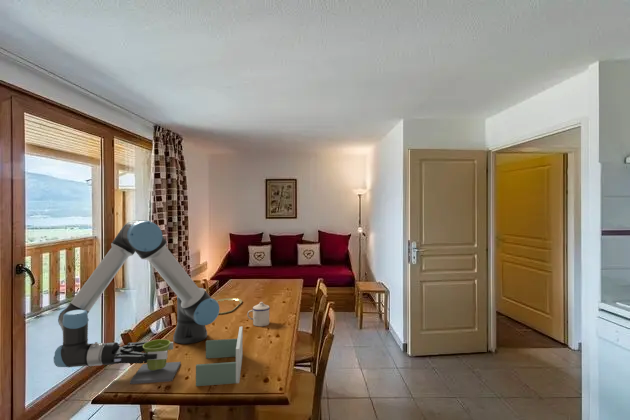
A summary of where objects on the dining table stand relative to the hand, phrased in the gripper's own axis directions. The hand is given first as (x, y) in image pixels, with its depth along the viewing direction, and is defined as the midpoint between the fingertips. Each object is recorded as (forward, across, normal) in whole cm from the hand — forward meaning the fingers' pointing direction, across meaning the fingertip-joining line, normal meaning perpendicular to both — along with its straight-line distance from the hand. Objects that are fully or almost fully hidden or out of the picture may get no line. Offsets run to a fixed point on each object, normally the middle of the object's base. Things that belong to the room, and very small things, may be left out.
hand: (170, 350), depth 132 cm
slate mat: (-5, 0, +8) cm, 10 cm away
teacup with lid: (+33, +52, +9) cm, 62 cm away
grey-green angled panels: (+19, 0, +8) cm, 20 cm away
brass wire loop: (+11, +90, +9) cm, 91 cm away
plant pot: (-5, 0, +6) cm, 8 cm away
